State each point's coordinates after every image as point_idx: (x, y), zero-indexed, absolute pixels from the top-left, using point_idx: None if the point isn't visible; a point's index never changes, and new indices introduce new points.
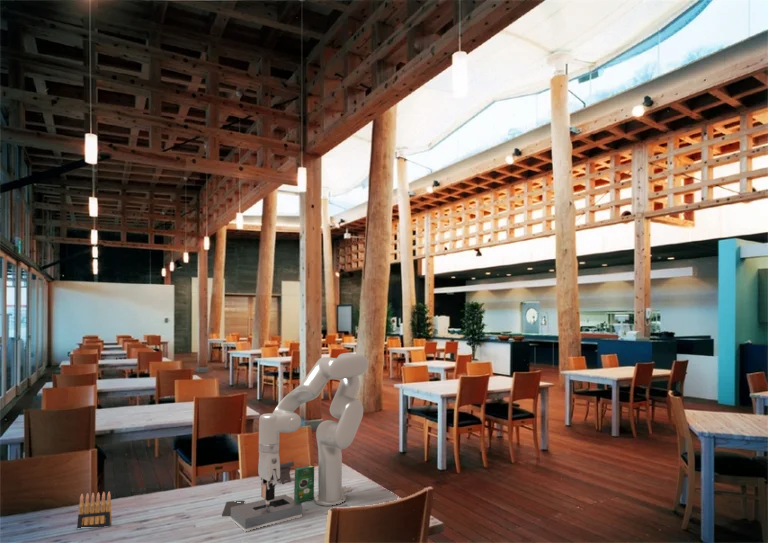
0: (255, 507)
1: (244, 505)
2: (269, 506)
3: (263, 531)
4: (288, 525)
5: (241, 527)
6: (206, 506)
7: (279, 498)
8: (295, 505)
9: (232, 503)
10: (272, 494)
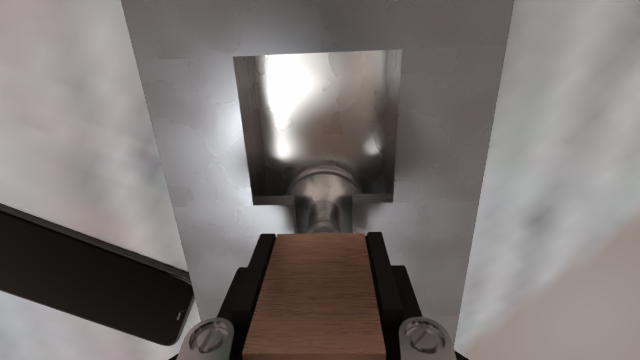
0: None
1: None
2: (337, 219)
3: (483, 271)
4: (523, 135)
5: None
6: (12, 354)
7: (211, 84)
8: (489, 31)
9: (13, 269)
10: (409, 290)
